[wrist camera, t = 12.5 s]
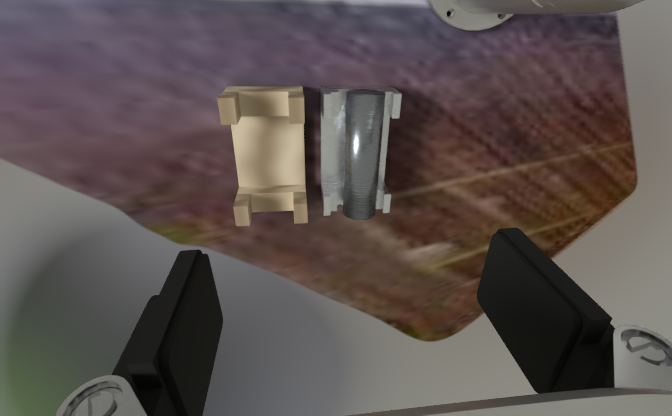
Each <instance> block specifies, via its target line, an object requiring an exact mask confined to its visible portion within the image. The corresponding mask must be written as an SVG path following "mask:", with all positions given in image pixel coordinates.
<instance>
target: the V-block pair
mask: <svg viewBox="0 0 672 416" xmlns="http://www.w3.org/2000/svg"><path fill="white" fill-rule="evenodd" d="M354 89H372V90H379V91H383V92H385V93H386V95H385V107H384V118H383V130H382V142H381V154H380V166H379V177H378V189H377V201H376V209H381V210H382V212H383V213H389V210H390V201H391V193H390V191H389V190H388V188H387V186H386V184H385V182H384V175H385V164H386V153H387V142H388V132H389V121H390V117H391V118H399V116H400V107H401V97H402V94H401V93H400V92H399V91H397V90H396V89H394V88H393V87H392V86H320V116H321V202H322V208H323V214H324V215H330V211H337V205H343V183H344V151H345V119H346V92H347V91H349V90H354Z"/></svg>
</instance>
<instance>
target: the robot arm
mask: <svg viewBox="0 0 672 416" xmlns="http://www.w3.org/2000/svg"><path fill="white" fill-rule="evenodd" d="M641 1H643V0H427V2H428V3H429V5H430V7H431V9H432V10H433V12H434V13H435V14H436V15H437V16H438V17H439V18H440V19H441V20H442V21H444V22H445V23H447V24H448V25H450V26H452V27H455V28H457V29H462V30H469V31H479V30H484V29H489V28H492V27H494V26H496V25H499V24H501V23H503V22H504V21H506V20H507V19H509V18H510V17H512V16H513V15H514V14H597V13H607V12H612V11H617V10H621V9H624V8H626V7H630V6H632V5H634V4H636V3H639V2H641ZM447 11H449V12H450V14H449V16H447ZM498 14H499V16H498ZM477 299H478V302H479V304H480V306H481V307H482V309H483V310H484V312H485V314H486V315H487V317H488V318H489V320H490V321H491V323H492V325H493V326H494V328H495V329H496V331H497V332H498V334H499V336H500V337H501V339H502V340H503V342H504V343H505V345H506V347H507V348H508V350H509V351H510V353H511V354H512V356H513V357H514V359H515V361H516V362H517V364H518V365H519V367H520V368H521V370H522V372H523V373H524V375H525V376H526V378H527V379H528V381H529V383H530V384H531V386H532V387H533V389H534V390H535V391H536V392H537V393H538V394H534V395H525V396H515V397H506V398H497V399H488V400H480V401H469V402H461V403H452V404H443V405H434V406H426V407H417V408H408V409H400V410H391V411H382V412H373V413H365V414H356V415H348V416H672V343H671V342H670V341H669V340H668V339H666V338H664V337H663V336H661V335H660V334H658V333H656V332H654V331H651V330H649V329H647V328H643V327H640V326H636V325H621V326H618V327H617V328H616V329H615V328H614V327H613V326H612V325H611V324H610V322H611V320H612V318H611V316H609V315H608V314H607V313H606V312H605V311H604V310H603V309H602V308H601V307H600V306H599V305H598V304H597V303H596V302H595V301H594V300H593V299H592V298H591V297H590V296H589V295H588V294H587V293H586V292H584V291H583V290H582V289H581V288H580V287H579V286H578V285H577V284H576V283H575V282H574V281H573V280H572V279H571V278H570V277H569V276H568V275H567V274H566V273H565V272H564V271H563V270H562V269H561V268H559V267H558V266H557V265H556V264H555V263H554V262H553V261H552V260H551V259H550V258H549V257H548V256H547V255H546V254H545V253H544V252H543V251H542V250H541V249H540V248H539V247H538V246H537V245H536V244H534V243H533V242H532V241H531V240H530V239H529V238H528V237H527V236H526V235H525V234H524V233H523V232H522V231H521V230H520V229H518V228H506V229H499V230H498V231H497V232H496V233H495V234H493V235H492V238H491V242H490V245H489V249H488V253H487V257H486V261H485V265H484V269H483V272H482V276H481V280H480V284H479V288H478V292H477ZM222 325H223V316H222V311H221V307H220V303H219V299H218V295H217V290H216V286H215V282H214V278H213V273H212V269H211V265H210V261H209V257H208V255H207V254H202V252H201V250H187V251H180V253H179V254H178V256H177V258H176V260H175V263H174V265H173V267H172V269H171V271H170V273H169V275H168V277H167V279H166V281H165V284H164V286H163V288H162V290H161V292H160V294H159V295H154V296H152V297H151V298H150V300H149V301H148V303H147V305H146V307H145V309H144V311H143V313H142V315H141V317H140V319H139V321H138V323H137V325H136V327H135V329H134V331H133V333H132V335H131V337H130V339H129V341H128V343H127V345H126V347H125V349H124V351H123V353H122V355H121V357H120V359H119V361H118V363H117V365H116V367H115V369H114V371H113V373H112V375H108V376H103V377H99V378H95V379H93V380H91V381H89V382H87V383H85V384H84V385H82V386H81V387H79V388H78V389H76V390H75V391H74V392H73V393H72V394H71V395H70V396H69V397H68V398H67V399H66V400H65V401H64V402H63V404H62V405H61V406H60V408H59V409H58V411H57V413H56V416H202V415H203V410H204V406H205V401H206V397H207V392H208V387H209V383H210V378H211V374H212V370H213V366H214V361H215V357H216V352H217V348H218V343H219V339H220V334H221V330H222Z"/></svg>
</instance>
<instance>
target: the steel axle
mask: <svg viewBox="0 0 672 416" xmlns="http://www.w3.org/2000/svg"><path fill="white" fill-rule="evenodd" d="M385 95H386V93H385V92H383V91H379V90H372V89H354V90H349V91H347V92H346V119H345V151H344V183H343V214H344V215H345V216H346V217H348V218H350V219H354V220H367V219H370V218H372V217H373V216H374V215H375V213H376V201H377V189H378V177H379V166H380V154H381V142H382V130H383V118H384V107H385Z"/></svg>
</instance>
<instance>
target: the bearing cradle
mask: <svg viewBox="0 0 672 416" xmlns="http://www.w3.org/2000/svg"><path fill="white" fill-rule="evenodd" d="M218 105H219V112H220V119H221V125H231V128H232V136H233V143H234V151H235V158H236V166H237V173H238V181H239V189H238V193H237V196H236V199H235V203H234V206H233V208H234V214H235V221H236V226H249V225H250V222H251V217H252V212H271V211H294V223H307V198H306V187H305V156H304V124H305V115H304V94H303V88H302V86H228V87H227V88H226V89H225V90H224V91H223V92H222V94H221V95H220V96H219V97H218Z"/></svg>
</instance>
